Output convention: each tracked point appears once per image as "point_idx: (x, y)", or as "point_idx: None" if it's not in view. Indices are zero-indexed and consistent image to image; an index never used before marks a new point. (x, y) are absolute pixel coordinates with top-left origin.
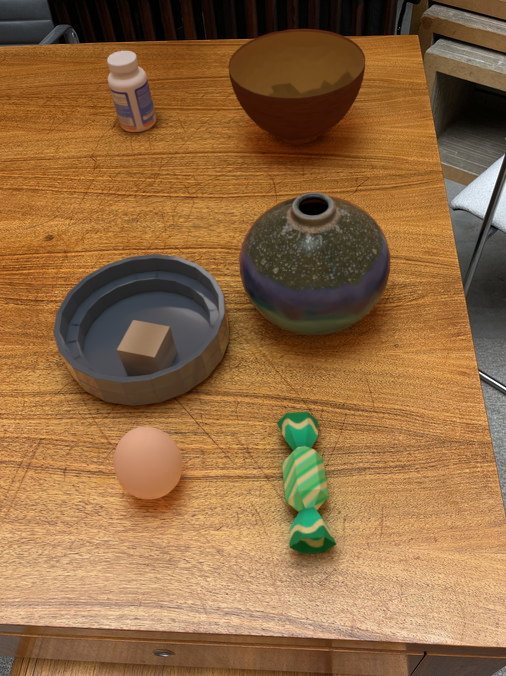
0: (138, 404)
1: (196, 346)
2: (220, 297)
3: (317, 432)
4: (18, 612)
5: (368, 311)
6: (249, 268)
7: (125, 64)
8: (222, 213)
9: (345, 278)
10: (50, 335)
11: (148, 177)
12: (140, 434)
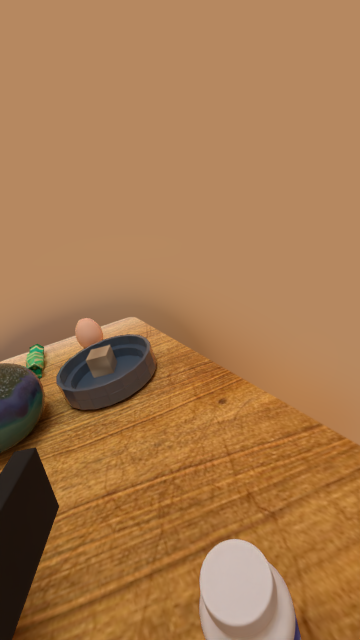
0: None
1: (83, 383)
2: (58, 381)
3: None
4: (129, 317)
5: None
6: (27, 368)
7: (210, 552)
8: (74, 485)
9: None
10: (170, 360)
11: (170, 506)
12: (81, 320)
